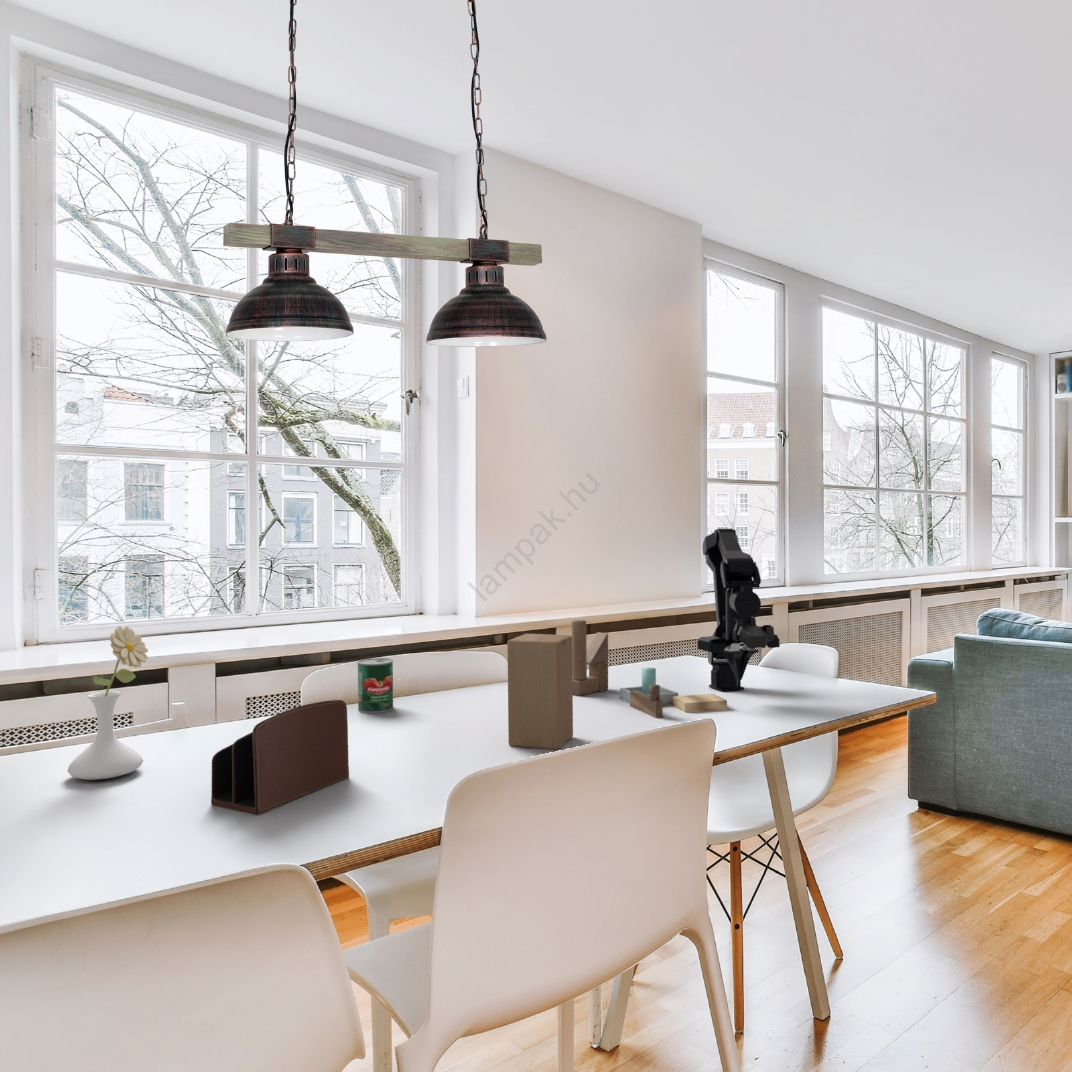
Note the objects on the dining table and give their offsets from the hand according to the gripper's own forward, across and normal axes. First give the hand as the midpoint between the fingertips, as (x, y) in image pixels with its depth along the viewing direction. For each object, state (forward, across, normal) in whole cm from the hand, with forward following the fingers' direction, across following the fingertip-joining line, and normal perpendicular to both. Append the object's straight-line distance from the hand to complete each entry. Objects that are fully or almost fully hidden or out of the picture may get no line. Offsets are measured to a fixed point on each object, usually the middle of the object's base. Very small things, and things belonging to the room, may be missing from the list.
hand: (739, 679), depth 188 cm
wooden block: (+6, -54, -13) cm, 55 cm away
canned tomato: (+6, -78, +27) cm, 83 cm away
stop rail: (+5, -24, +1) cm, 24 cm away
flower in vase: (+5, -129, -4) cm, 129 cm away
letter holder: (+6, -102, -24) cm, 105 cm away
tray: (+5, -18, +10) cm, 21 cm away
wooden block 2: (+6, -26, +25) cm, 37 cm away
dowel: (+5, -18, +10) cm, 21 cm away
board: (+6, -11, 0) cm, 12 cm away
